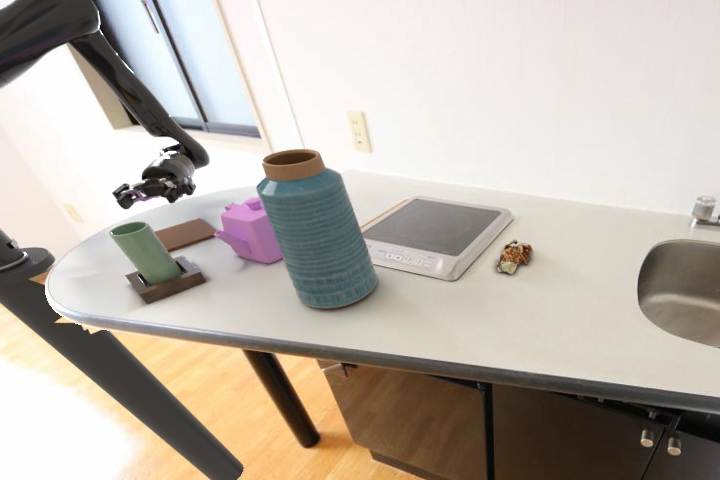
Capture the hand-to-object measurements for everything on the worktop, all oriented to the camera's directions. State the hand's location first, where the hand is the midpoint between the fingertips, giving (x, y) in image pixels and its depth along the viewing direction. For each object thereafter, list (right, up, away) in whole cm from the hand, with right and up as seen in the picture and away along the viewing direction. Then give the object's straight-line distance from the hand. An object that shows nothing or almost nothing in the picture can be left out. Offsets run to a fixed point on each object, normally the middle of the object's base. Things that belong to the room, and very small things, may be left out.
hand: (146, 201), depth 78 cm
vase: (+42, -19, 0) cm, 46 cm away
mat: (-8, -3, +18) cm, 20 cm away
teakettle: (+20, -7, +13) cm, 25 cm away
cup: (+4, -17, +2) cm, 18 cm away
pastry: (+80, -11, +8) cm, 82 cm away
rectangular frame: (+4, -17, +2) cm, 18 cm away
